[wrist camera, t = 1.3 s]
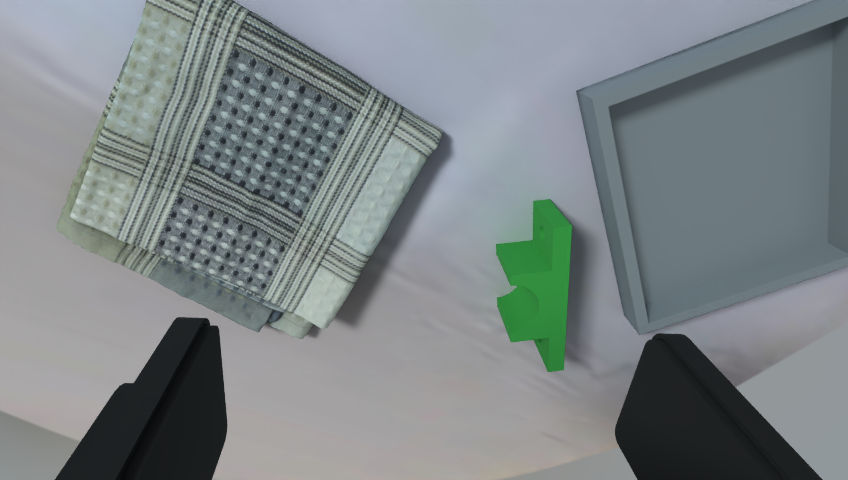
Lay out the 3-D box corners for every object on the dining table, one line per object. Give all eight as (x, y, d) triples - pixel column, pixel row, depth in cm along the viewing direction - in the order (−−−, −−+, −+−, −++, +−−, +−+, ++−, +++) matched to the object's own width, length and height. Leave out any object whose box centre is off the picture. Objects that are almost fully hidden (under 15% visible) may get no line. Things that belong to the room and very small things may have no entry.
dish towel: (163, -50, 26) (135, -56, 23) (446, 128, 31) (452, 142, 28) (62, 229, 32) (30, 251, 29) (311, 337, 37) (306, 365, 34)
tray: (840, -10, 28) (879, -11, 26) (832, 244, 36) (862, 261, 34) (576, 90, 30) (591, 98, 28) (624, 315, 38) (639, 335, 36)
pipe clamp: (494, 203, 33) (510, 231, 29) (548, 197, 33) (572, 225, 29) (497, 337, 38) (511, 377, 34) (544, 331, 38) (564, 371, 34)
